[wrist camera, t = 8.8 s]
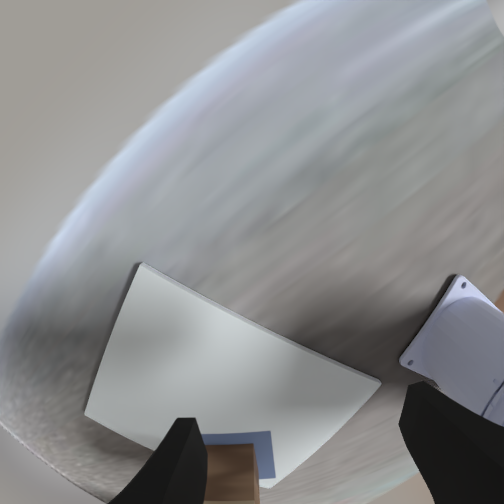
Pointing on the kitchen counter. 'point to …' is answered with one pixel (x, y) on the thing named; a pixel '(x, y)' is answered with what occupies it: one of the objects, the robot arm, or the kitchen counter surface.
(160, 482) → the robot arm
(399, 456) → the kitchen counter surface
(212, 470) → the walnut block
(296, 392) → the white square board
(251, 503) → the maple block
